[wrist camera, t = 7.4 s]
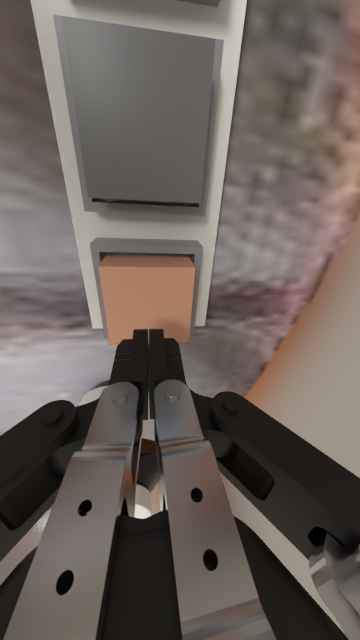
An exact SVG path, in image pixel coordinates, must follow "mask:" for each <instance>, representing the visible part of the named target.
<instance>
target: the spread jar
mask: <svg viewBox="0 0 360 640" xmlns="http://www.w3.org/2000/svg"><path fill="white" fill-rule="evenodd" d="M108 386H109V382H107V383H103V384H101V385H98V386H96V387H94V388H93V389H91V390H90V391H89V392H87V393H86V394H85V395H84V397H83V398H82V399H81V401H80V403H79V404H78V406H80V405H84V404H87V403H90V402H92V401H94V400H96V399H98V398H99V397H100V396H101V394H102V392H103V391H104V390H105V389H106V388H107V387H108ZM157 483H158V471H157V460H156V449H155V434H154V419H151V420H150V410H149V398H148V420H143V433H142V440H141V449H140V457H139V466H138V475H137V483H136V494H135V514H134V517H135V518H140V519H145V518H148V517H150V516H151V491H152V490H153V489H154V487H155V486H156V484H157Z"/></svg>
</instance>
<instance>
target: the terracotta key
mask: <svg viewBox="0 0 360 640" xmlns="http://www.w3.org/2000/svg"><path fill="white" fill-rule="evenodd" d="M98 268H99V275H100V281H101V288H102V295H103V302H104V308H105V315H106V322H107V329H108V336H109V342H110V345H119V343H120V342H121V341H122V340H123V339H132V338H133V331H134V329H148V341H149V329H163V331H164V338H174V339H175V340H176V341H177V342H178V343H189V334H190V323H191V312H192V301H193V289H194V278H195V266H194V264H193V263H192V261H191V259H190V257H173V256H121V255H106V256H105V257H104V259H103V260H102V262H101V263H100V265H99V266H98Z"/></svg>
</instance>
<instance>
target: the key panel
mask: <svg viewBox="0 0 360 640" xmlns="http://www.w3.org/2000/svg"><path fill="white" fill-rule="evenodd" d="M246 4H247V0H31V5H32V10H33V16H34V21H35V26H36V31H37V37H38V42H39V47H40V53H41V58H42V63H43V68H44V74H45V79H46V84H47V90H48V95H49V100H50V105H51V111H52V116H53V121H54V127H55V132H56V137H57V142H58V148H59V153H60V158H61V164H62V169H63V174H64V179H65V185H66V190H67V195H68V201H69V206H70V211H71V216H72V222H73V227H74V232H75V238H76V243H77V248H78V253H79V259H80V264H81V269H82V275H83V280H84V285H85V290H86V296H87V301H88V306H89V312H90V317H91V322H92V327H93V328H103V331H104V337H105V338H109V336H108V329H107V322H106V315H105V308H104V302H103V295H102V288H101V281H100V275H99V268H98V266H99V265H100V263H101V262H102V260H103V259H104V257H105V256H106V255H121V256H173V257H190V259H191V261H192V263H193V264H194V266H195V278H194V289H193V301H192V312H191V323H190V334H189V336H191V335H194V330H195V326H205V320H206V313H207V305H208V297H209V289H210V282H211V274H212V266H213V259H214V251H215V243H216V235H217V228H218V220H219V212H220V205H221V197H222V189H223V181H224V174H225V166H226V158H227V150H228V143H229V135H230V127H231V120H232V112H233V104H234V96H235V89H236V81H237V73H238V65H239V58H240V50H241V42H242V35H243V27H244V19H245V11H246ZM62 16H67V17H73V18H80V19H87V20H94V21H100V22H107V23H114V24H120V25H127V26H134V27H141V28H147V29H154V30H161V31H167V32H174V33H181V34H188V35H194V36H201V37H208V38H215V39H216V40H215V51H214V63H213V74H212V85H211V97H210V108H209V119H208V131H207V142H206V153H205V165H204V176H203V187H202V199H201V203H183V202H163V201H144V200H124V199H104V198H88V193H87V186H86V179H85V173H84V166H83V159H82V152H81V146H80V139H79V132H78V125H77V118H76V112H75V105H74V98H73V91H72V84H71V78H70V71H69V64H68V57H67V50H66V44H65V37H64V30H63V23H62Z"/></svg>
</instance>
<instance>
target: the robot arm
mask: <svg viewBox="0 0 360 640" xmlns="http://www.w3.org/2000/svg"><path fill="white" fill-rule="evenodd" d="M148 398H149V410H150V420H151V419H154V434H155V449H156V460H157V471H158V482H159V494H160V511H161V512H159V513H157V514H154V515H152V516H150V517H148V518H145V519H140V518H135V517H134V514H135V494H136V483H137V475H138V466H139V457H140V449H141V440H142V433H143V420H148ZM220 472H221V473H222V474H223V475H224V476H225V477H226V478H227V479H228V480H229V481H230V482H231V483H232V484H233V485H234V486H235V487H236V488H237V489H238V490H239V491H240V492H241V493H242V494H243V495H244V496H245V497H246V498H247V499H248V500H249V501H250V502H251V503H252V504H253V505H254V506H255V507H256V508H257V509H258V510H259V511H260V512H261V513H262V514H263V515H264V516H265V517H266V518H267V519H268V520H269V521H270V522H271V523H272V524H273V525H274V526H275V527H276V528H277V529H278V530H279V531H280V532H281V533H282V534H283V535H284V536H285V537H286V538H287V539H288V540H289V541H290V542H291V543H292V544H293V545H294V546H295V547H296V548H297V549H298V550H299V551H300V552H301V553H302V554H303V555H304V556H305V557H306V558H307V559H308V560H309V567H310V573H311V577H312V580H313V583H314V585H315V587H316V590H317V592H318V593H319V595H320V597H321V598H322V600H323V601H324V603H325V604H326V606H327V607H328V608H329V609H330V611H331V612H332V613H333V615H334V616H335V617H336V619H337V621H338V622H339V624H340V625H341V627H342V629H343V631H344V633H345V634H344V633H343V632H342V631H341V630H340V629H339V628H338V626H337V625H336V624H335V623H334V622H333V621H332V620H331V618H330V617H329V616H328V615H327V614H326V613H325V612H324V611H323V609H322V608H321V607H320V606H319V605H318V604H317V603H316V601H315V600H314V599H313V598H312V597H311V596H310V595H309V593H308V592H307V591H306V590H305V589H304V588H303V587H302V586H301V584H300V583H299V582H298V581H297V580H296V579H295V578H294V576H293V575H292V574H291V573H290V572H289V571H288V570H287V568H286V567H285V566H284V565H283V564H282V563H281V562H280V560H279V559H278V558H277V557H276V556H275V555H274V553H273V552H272V551H271V550H270V549H269V548H268V547H267V545H266V544H265V543H264V542H263V541H262V540H261V539H260V538H259V537H258V535H257V534H256V533H255V532H254V531H253V530H252V529H251V528H249V527H248V526H247V525H246V524H245V523H244V522H242V521H241V520H239V519H238V518H236V517H234V516H233V513H232V510H231V507H230V504H229V500H228V497H227V494H226V491H225V487H224V484H223V481H222V478H221V474H220ZM53 504H54V505H53ZM52 505H53V507H52V510H51V513H50V515H49V518H48V521H47V523H46V526H45V529H44V532H43V534H42V537H41V540H40V542H39V545H38V546H37V547H36V548H35V549H34V550H32V551H31V552H30V553H29V554H28V555H27V556H26V557H25V558H24V559H23V560H22V561H21V562H20V563H19V564H18V565H17V566H16V568H15V569H14V570H13V571H12V572H11V573H10V575H9V576H8V577H7V578H6V579H5V581H4V582H3V583H2V584H1V585H0V640H360V478H359V477H357V476H355V475H354V474H353V473H351V472H350V471H348V470H347V469H346V468H344V467H343V466H341V465H340V464H338V463H337V462H335V461H334V460H332V459H331V458H330V457H328V456H327V455H325V454H324V453H322V452H321V451H320V450H318V449H317V448H315V447H314V446H312V445H311V444H310V443H308V442H307V441H305V440H304V439H302V438H301V437H299V436H298V435H297V434H295V433H294V432H292V431H291V430H289V429H288V428H286V427H285V426H284V425H282V424H281V423H279V422H278V421H276V420H275V419H273V418H272V417H270V416H269V415H268V414H266V413H265V412H263V411H262V410H260V409H259V408H258V407H256V406H255V405H253V404H252V403H250V402H249V401H248V400H246V399H245V398H243V397H242V396H240V395H239V394H236V393H233V392H227V391H226V392H220V393H218V394H217V395H215V397H214V398H210V397H205V396H201V395H198V394H196V393H194V392H193V391H192V390H190V389H189V387H188V386H187V384H186V381H185V376H184V370H183V365H182V359H181V353H180V348H179V344H178V342H177V341H176V340H175V339H174V338H164V331H163V329H149V341H148V329H134V331H133V338H132V339H123V340H122V341H121V342H120V343H119V345H118V346H117V350H116V355H115V359H114V364H113V368H112V373H111V378H110V382H109V386H108V387H107V388H106V389H105V390H104V391H103V392H102V394H101V396H100V397H99V398H98V399H96V400H94V401H92V402H90V403H87V404H84V405H80V406H77V407H75V406H74V405H73V404H72V403H71V402H69V401H66V400H57V401H53V402H50V403H48V404H46V405H44V406H42V407H41V408H39V409H38V410H36V411H35V412H34V413H32V414H31V415H29V416H28V417H27V418H25V419H24V420H22V421H21V422H20V423H18V424H17V425H15V426H14V427H12V428H11V429H10V430H8V431H7V432H5V433H4V434H3V435H1V436H0V561H1V560H2V559H3V558H4V557H5V556H6V555H7V554H8V553H9V552H10V550H11V549H12V548H13V547H14V546H15V545H16V544H17V543H18V542H19V541H20V540H21V538H22V537H23V536H24V535H25V534H26V533H27V532H28V531H29V530H30V529H31V528H32V527H33V525H34V524H35V523H36V522H37V521H38V520H39V519H40V518H41V517H42V516H43V515H44V513H45V512H46V511H47V510H48V509H49V508H50V507H51V506H52ZM345 635H346V636H345Z"/></svg>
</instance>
